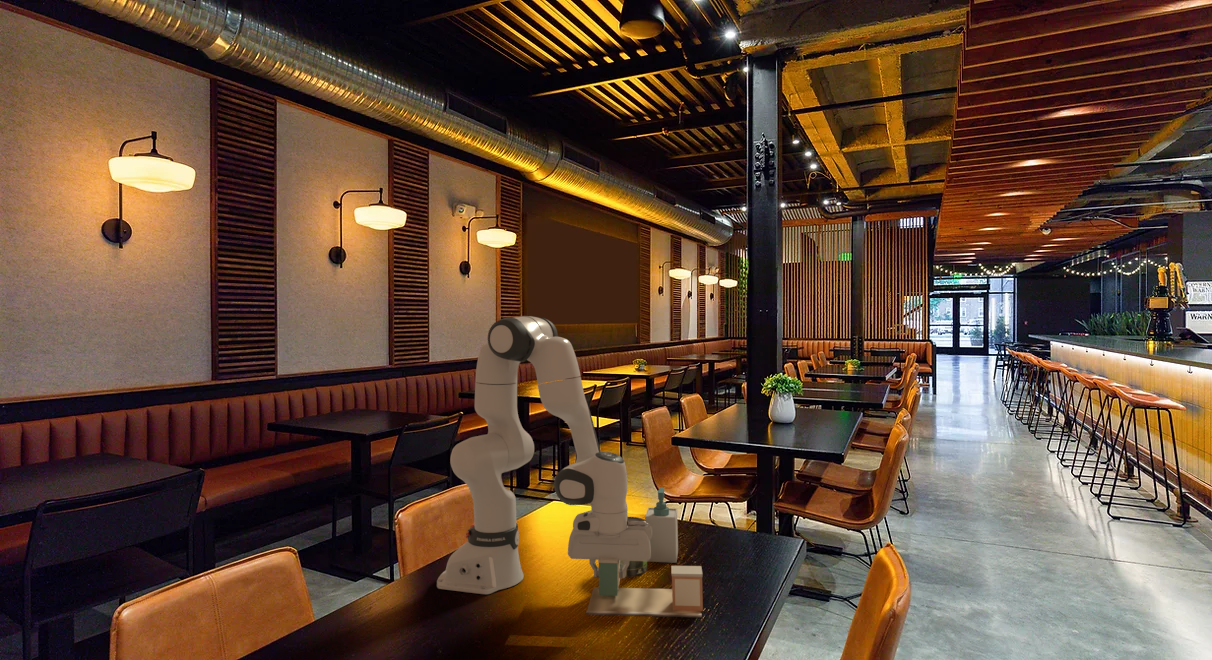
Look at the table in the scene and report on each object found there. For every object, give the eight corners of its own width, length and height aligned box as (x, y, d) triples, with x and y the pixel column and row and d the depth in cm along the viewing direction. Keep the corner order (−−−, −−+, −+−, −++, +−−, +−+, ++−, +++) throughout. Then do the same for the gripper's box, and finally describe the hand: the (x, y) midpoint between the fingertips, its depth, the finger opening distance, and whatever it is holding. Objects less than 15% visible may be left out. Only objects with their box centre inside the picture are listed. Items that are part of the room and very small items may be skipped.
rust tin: (672, 601, 138) (671, 565, 139) (702, 602, 138) (701, 566, 138) (672, 610, 134) (671, 573, 134) (703, 611, 133) (702, 574, 133)
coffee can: (650, 568, 162) (648, 516, 162) (645, 583, 152) (643, 529, 152) (613, 565, 164) (612, 515, 164) (606, 581, 154) (604, 527, 154)
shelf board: (586, 620, 133) (585, 612, 133) (593, 593, 147) (593, 586, 147) (702, 624, 130) (701, 615, 130) (698, 595, 144) (698, 588, 144)
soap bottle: (678, 551, 174) (676, 487, 174) (676, 563, 165) (674, 495, 165) (649, 550, 175) (647, 486, 175) (646, 561, 167) (644, 494, 167)
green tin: (598, 595, 140) (598, 560, 140) (601, 582, 147) (601, 549, 147) (618, 596, 139) (617, 560, 139) (620, 583, 146) (619, 549, 146)
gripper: (652, 517, 145) (652, 572, 145) (570, 514, 147) (570, 569, 147) (652, 525, 139) (652, 584, 139) (566, 523, 141) (566, 580, 141)
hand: (609, 576), depth 143 cm, fingers closed on green tin, 5 cm apart
